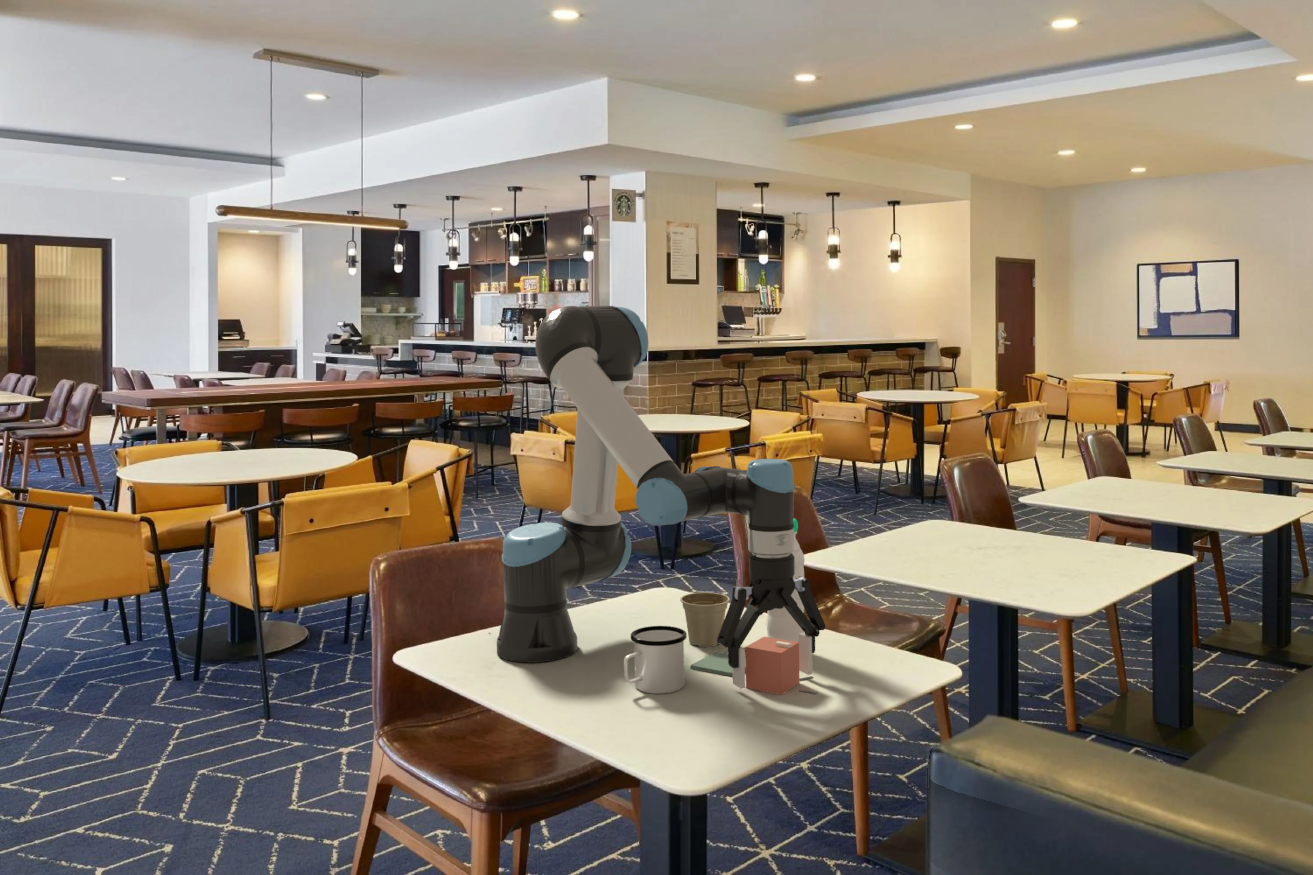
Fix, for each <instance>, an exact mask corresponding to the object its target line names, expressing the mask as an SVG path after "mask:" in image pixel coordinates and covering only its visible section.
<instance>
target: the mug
mask: <svg viewBox="0 0 1313 875" xmlns="http://www.w3.org/2000/svg"><path fill="white" fill-rule="evenodd" d="M687 637H688V633H687V632H686V630H684V629H682V628H680V627H675V626H668V625H651V626H644V627H640V628H637V629H635V630H633V631H631V633H630V640H631V641H632V642H633V651H634V652H633V653H630V654H627V655H626V656H625V657H624V659H623V674H624V675H623V676H624V681H625V682H626V683H628V684H634V687H635V688H636V689H638V690H639V691H641V692H643V693H647V694H655V695H659V694H660V695H662V694H663V695H664V694H671V693H675V692H677V691H679V690H681V689H682V688H684V686H685V653H684V652H685V651H684V650H685V648H684V647H685V646H684V645H685V644H684V643H685V642H684V641H685V640H687ZM631 658H634V661H633V662H634V666H633V667H634V678H632V679H629V668H628V667H629V660H630V659H631Z"/></svg>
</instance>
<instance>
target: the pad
mask: <svg viewBox="0 0 1313 875" xmlns="http://www.w3.org/2000/svg"><path fill="white" fill-rule="evenodd" d="M690 669H692V670H697V671H702V672H706V673H711V674H712V673H713V674H718V675H723V676H729V677H733V672H732V667H731V666H729V663H728V652H720V651H714V652H711V654H709V655H707V656H705V657H703V658H701V659H700V660H697V661H696V662H694V663H691V664H690ZM745 672H746V656H745Z"/></svg>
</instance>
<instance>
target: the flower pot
mask: <svg viewBox="0 0 1313 875" xmlns="http://www.w3.org/2000/svg"><path fill="white" fill-rule="evenodd" d="M680 602H681V604H682V608H683V610H684V613H685V614H684V615H685V622H686V628H687V637H688V641H689V644H691V645H692V646H699V647H702V648H707V647H715V646H717V645H719V643H718V642H717V638H718V636H719V633H720V630H721V628H722V625H723V622H724V620H725V617H726V610H727V609H728V603H729V602H731V601H730V597H729V596H728V595H726V594H722V593H717V592H709V591H708V592H705V591H703V592H701V591H700V592H694V593H688V594H685V595H683V596H681V597H680Z"/></svg>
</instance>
